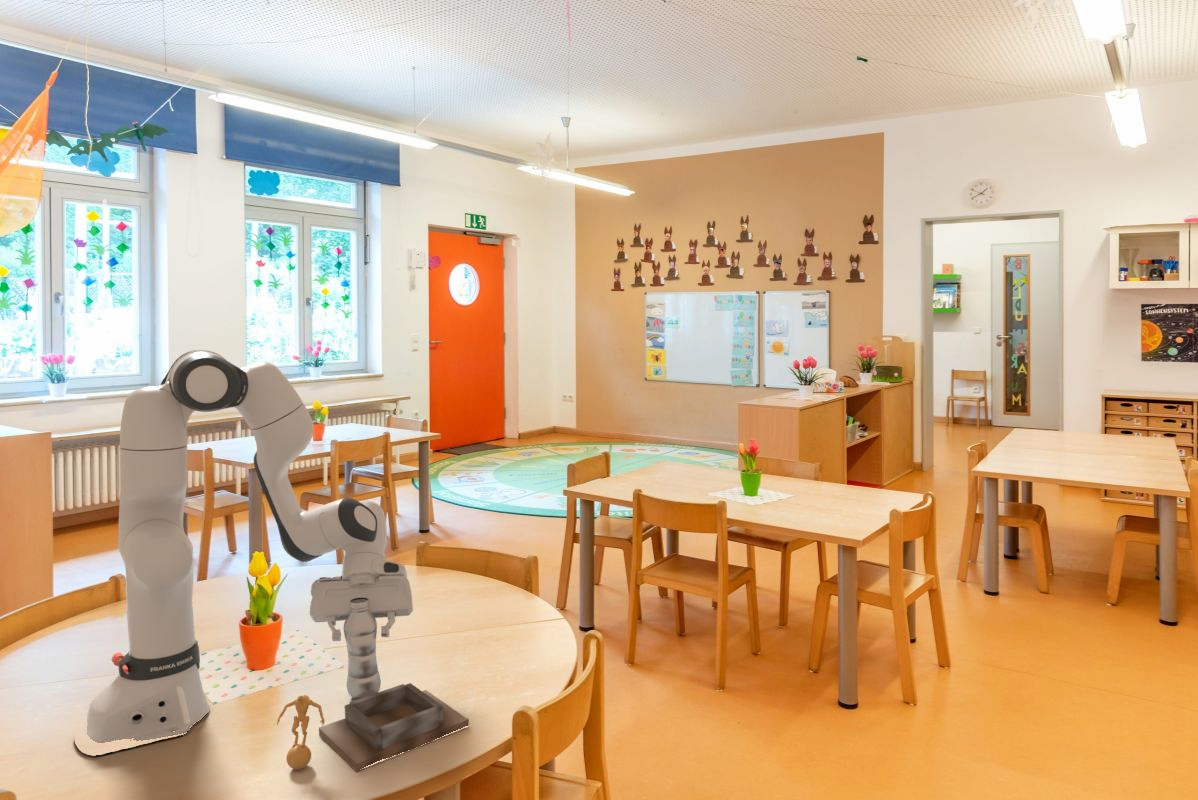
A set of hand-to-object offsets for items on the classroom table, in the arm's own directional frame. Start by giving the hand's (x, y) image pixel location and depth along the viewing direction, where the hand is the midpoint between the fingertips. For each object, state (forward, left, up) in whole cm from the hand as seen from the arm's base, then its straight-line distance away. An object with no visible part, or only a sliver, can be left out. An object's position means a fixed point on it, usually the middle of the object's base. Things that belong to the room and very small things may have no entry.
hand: (360, 638), depth 165 cm
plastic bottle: (0, +1, -13) cm, 13 cm away
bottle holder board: (-2, -16, -12) cm, 21 cm away
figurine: (-19, -16, -13) cm, 28 cm away
